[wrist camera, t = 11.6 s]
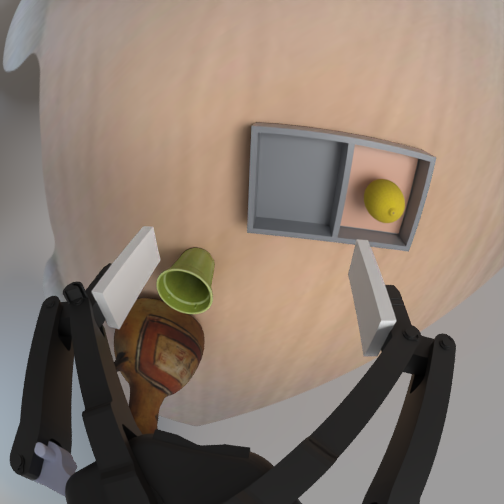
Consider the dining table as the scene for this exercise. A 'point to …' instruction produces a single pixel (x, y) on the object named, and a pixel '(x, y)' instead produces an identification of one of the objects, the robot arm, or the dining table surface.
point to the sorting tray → (331, 185)
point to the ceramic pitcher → (156, 356)
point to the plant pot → (188, 282)
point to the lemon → (384, 201)
